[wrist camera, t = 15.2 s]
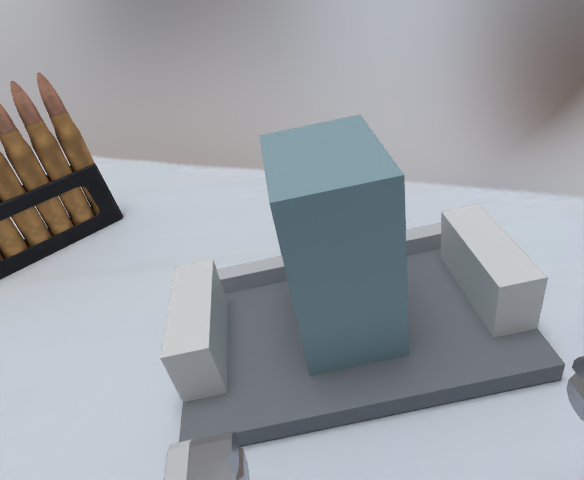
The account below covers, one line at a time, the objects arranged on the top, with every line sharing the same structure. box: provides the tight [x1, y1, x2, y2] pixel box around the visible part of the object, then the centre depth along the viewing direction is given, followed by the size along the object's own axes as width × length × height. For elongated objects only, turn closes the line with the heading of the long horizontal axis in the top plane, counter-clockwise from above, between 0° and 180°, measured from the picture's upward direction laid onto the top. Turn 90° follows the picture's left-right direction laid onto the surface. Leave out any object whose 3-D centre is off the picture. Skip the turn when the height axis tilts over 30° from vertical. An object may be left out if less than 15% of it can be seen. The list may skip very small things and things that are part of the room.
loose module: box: [260, 115, 410, 376], centre depth 20 cm, size 4×6×9 cm
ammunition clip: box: [0, 73, 123, 279], centre depth 32 cm, size 11×2×12 cm, turn 131°
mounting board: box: [160, 204, 565, 446], centre depth 22 cm, size 16×10×4 cm, turn 97°
